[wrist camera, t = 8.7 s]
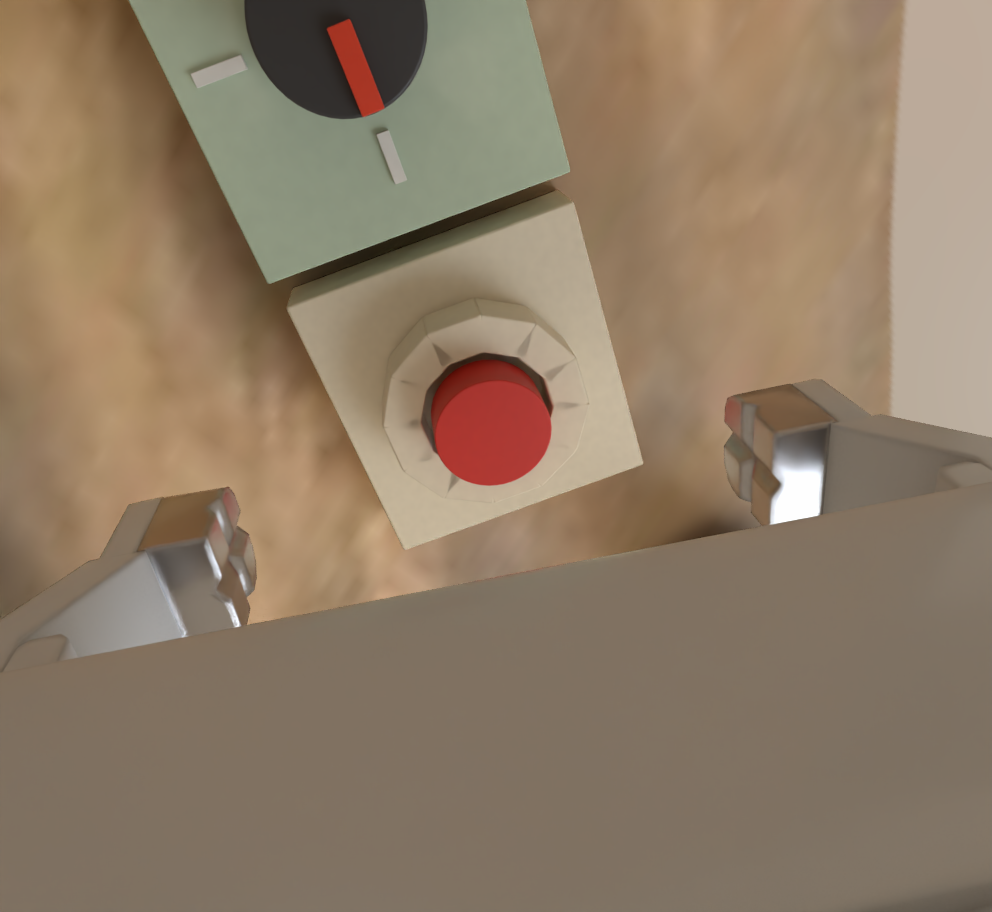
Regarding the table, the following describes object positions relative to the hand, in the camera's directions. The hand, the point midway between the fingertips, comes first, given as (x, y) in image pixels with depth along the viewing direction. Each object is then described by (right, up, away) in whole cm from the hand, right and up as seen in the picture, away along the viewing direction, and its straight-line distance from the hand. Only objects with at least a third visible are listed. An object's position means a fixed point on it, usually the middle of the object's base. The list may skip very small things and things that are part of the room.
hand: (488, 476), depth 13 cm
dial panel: (-4, +13, +10) cm, 17 cm away
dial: (-4, +11, +7) cm, 14 cm away
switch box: (-1, +3, +16) cm, 16 cm away
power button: (0, +2, +12) cm, 12 cm away
